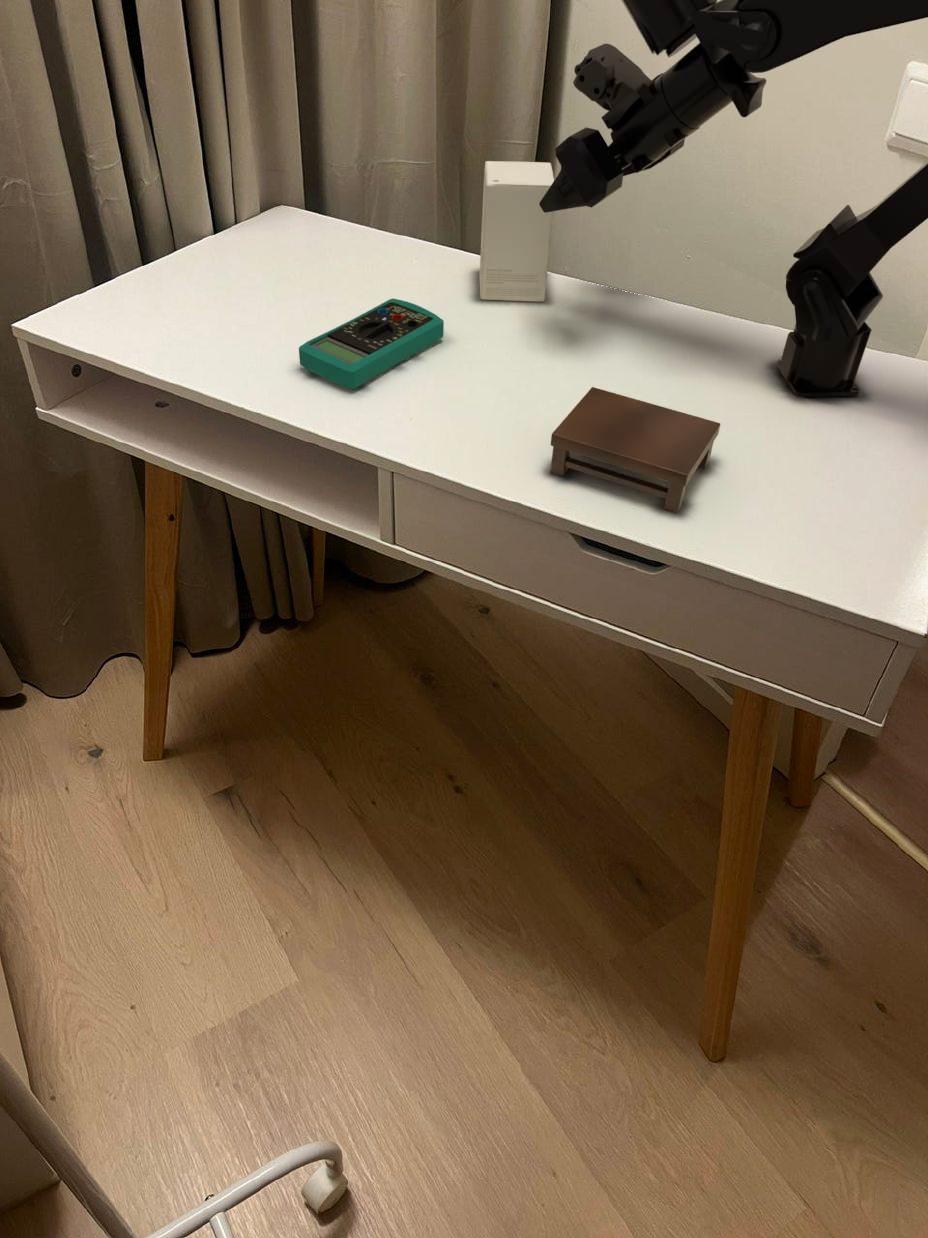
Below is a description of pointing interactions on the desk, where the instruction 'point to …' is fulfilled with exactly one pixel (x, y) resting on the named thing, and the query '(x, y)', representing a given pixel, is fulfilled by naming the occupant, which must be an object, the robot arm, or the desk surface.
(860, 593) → the desk surface
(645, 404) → the small table
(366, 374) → the digital multimeter
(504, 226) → the white packaging box
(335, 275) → the desk surface
